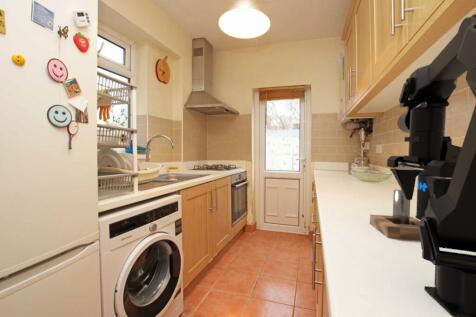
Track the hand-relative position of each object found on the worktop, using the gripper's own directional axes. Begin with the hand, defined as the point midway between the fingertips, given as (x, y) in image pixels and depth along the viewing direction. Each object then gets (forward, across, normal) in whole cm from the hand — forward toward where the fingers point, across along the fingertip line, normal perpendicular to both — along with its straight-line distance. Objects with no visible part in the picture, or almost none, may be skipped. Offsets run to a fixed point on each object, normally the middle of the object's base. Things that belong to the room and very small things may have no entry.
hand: (422, 205), depth 49 cm
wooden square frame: (+12, +18, -6) cm, 22 cm away
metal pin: (+13, +17, -6) cm, 22 cm away
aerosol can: (+14, +32, -24) cm, 42 cm away
